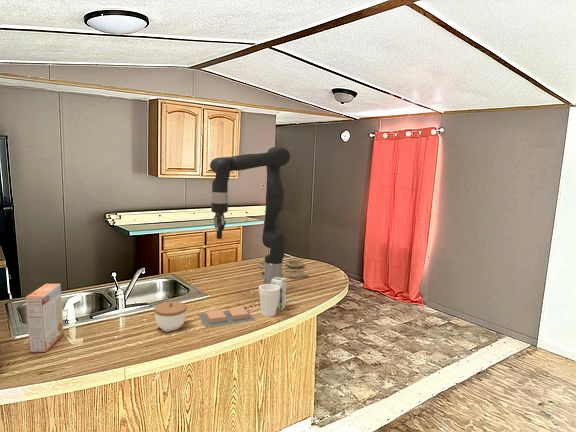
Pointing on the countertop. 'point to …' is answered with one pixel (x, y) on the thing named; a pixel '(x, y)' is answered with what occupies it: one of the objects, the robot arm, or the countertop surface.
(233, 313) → the tile
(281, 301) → the syrup box
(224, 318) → the tile
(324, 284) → the countertop surface
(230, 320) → the mat
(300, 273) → the tableware set
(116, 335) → the countertop surface
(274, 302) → the foam cup
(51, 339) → the cracker box
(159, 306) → the lidded bowl
